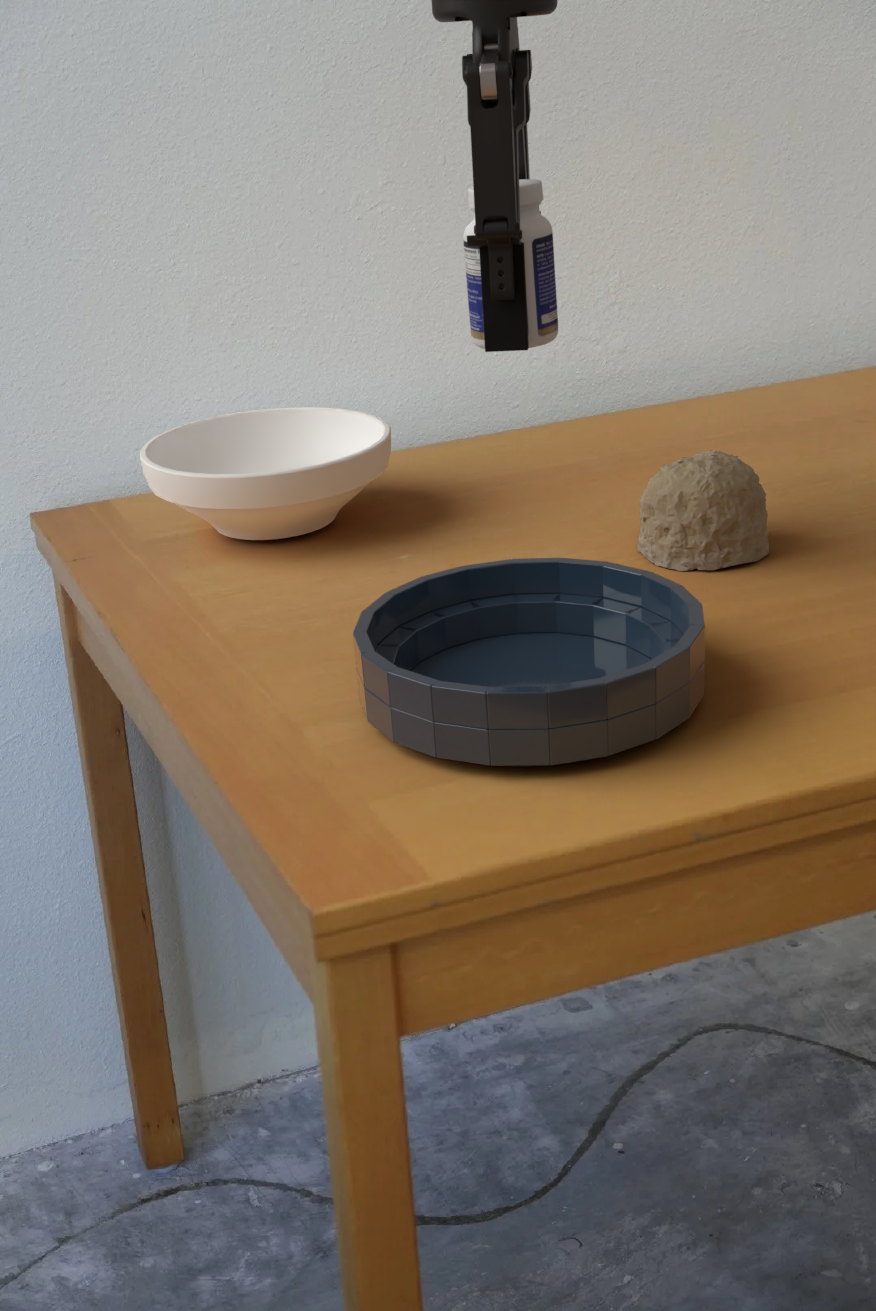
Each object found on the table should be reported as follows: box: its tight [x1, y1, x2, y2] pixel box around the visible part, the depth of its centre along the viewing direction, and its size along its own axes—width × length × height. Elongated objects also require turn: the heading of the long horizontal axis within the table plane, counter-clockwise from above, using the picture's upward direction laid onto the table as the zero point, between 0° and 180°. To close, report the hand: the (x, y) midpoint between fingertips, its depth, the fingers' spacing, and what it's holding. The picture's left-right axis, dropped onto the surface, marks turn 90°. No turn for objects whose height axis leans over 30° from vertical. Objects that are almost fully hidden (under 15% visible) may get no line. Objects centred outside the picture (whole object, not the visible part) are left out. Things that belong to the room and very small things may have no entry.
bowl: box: [139, 406, 392, 541], centre depth 116 cm, size 20×20×7 cm
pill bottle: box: [462, 178, 559, 350], centre depth 94 cm, size 6×6×10 cm
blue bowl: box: [352, 557, 706, 768], centre depth 84 cm, size 20×20×5 cm
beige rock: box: [637, 449, 770, 572], centre depth 104 cm, size 9×10×10 cm
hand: (511, 338), depth 96 cm, fingers closed on pill bottle, 6 cm apart
